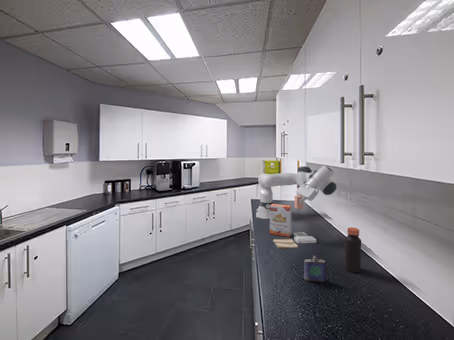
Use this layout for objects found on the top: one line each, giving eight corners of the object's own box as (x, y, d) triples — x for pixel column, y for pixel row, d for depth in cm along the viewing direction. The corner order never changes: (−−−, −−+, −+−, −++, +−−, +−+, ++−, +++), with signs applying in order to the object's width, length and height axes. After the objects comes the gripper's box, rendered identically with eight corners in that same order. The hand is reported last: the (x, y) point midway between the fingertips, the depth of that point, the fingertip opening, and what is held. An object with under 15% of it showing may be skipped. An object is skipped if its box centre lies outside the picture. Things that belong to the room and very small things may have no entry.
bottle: (353, 265, 110) (354, 226, 108) (364, 272, 103) (365, 231, 102) (341, 266, 109) (342, 227, 108) (351, 273, 102) (351, 232, 101)
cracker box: (269, 234, 154) (269, 205, 153) (271, 231, 159) (271, 203, 158) (289, 237, 148) (289, 207, 146) (291, 234, 153) (291, 205, 151)
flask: (304, 281, 97) (304, 257, 97) (303, 277, 100) (303, 254, 99) (326, 282, 96) (326, 258, 95) (324, 278, 99) (324, 255, 98)
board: (273, 240, 143) (273, 239, 142) (291, 240, 143) (291, 238, 143) (278, 248, 131) (278, 247, 131) (298, 247, 131) (298, 246, 131)
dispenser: (290, 235, 151) (290, 232, 151) (307, 235, 152) (307, 231, 151) (297, 243, 137) (297, 240, 137) (316, 242, 138) (316, 239, 138)
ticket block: (294, 207, 144) (294, 195, 144) (300, 207, 145) (300, 195, 144) (297, 209, 140) (297, 196, 140) (303, 208, 141) (303, 196, 140)
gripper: (323, 192, 132) (308, 208, 132) (309, 187, 152) (295, 201, 153) (316, 185, 131) (300, 201, 132) (302, 181, 152) (289, 195, 152)
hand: (297, 201), depth 142 cm, fingers closed on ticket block, 4 cm apart
